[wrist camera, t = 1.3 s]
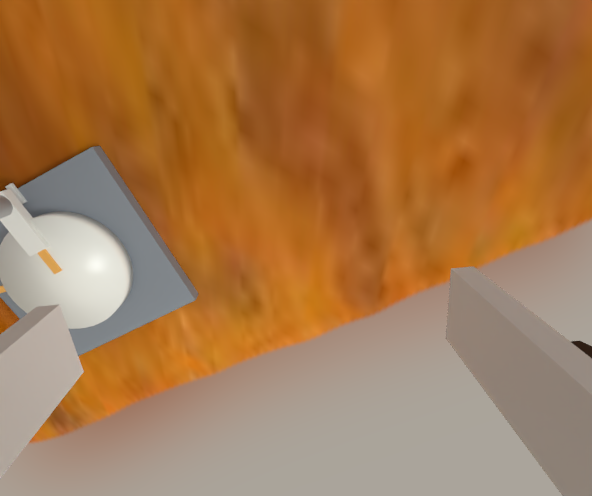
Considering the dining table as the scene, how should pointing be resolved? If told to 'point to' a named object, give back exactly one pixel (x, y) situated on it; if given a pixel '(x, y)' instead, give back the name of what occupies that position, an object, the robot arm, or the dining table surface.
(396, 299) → the dining table surface
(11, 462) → the robot arm
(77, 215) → the dial
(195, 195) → the dining table surface
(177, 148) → the dining table surface
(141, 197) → the dining table surface
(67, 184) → the board
